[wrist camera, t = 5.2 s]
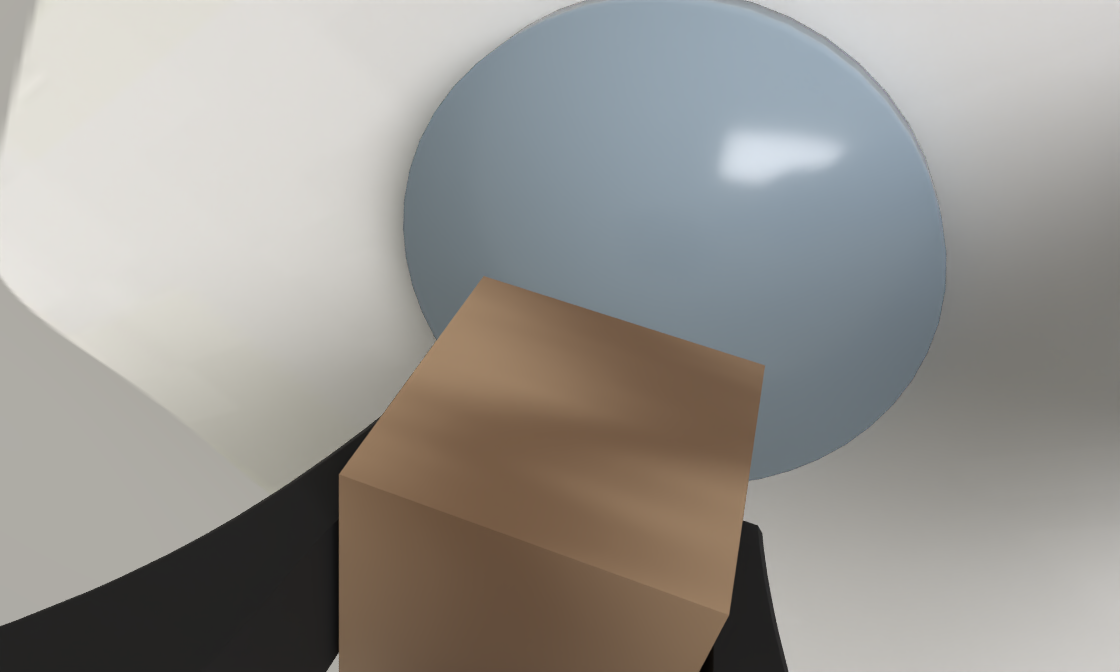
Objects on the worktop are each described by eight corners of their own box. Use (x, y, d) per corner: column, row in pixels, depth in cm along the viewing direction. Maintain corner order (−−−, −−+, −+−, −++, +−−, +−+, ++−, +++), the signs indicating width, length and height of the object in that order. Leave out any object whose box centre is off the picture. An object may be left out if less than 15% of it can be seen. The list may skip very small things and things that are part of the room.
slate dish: (1067, 101, 15) (1082, 123, 14) (803, 512, 22) (801, 545, 21) (459, -90, 16) (434, -81, 15) (403, 361, 23) (384, 386, 22)
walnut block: (765, 365, 12) (728, 615, 8) (685, 550, 15) (632, 797, 11) (483, 275, 12) (339, 474, 9) (457, 469, 15) (339, 680, 12)
